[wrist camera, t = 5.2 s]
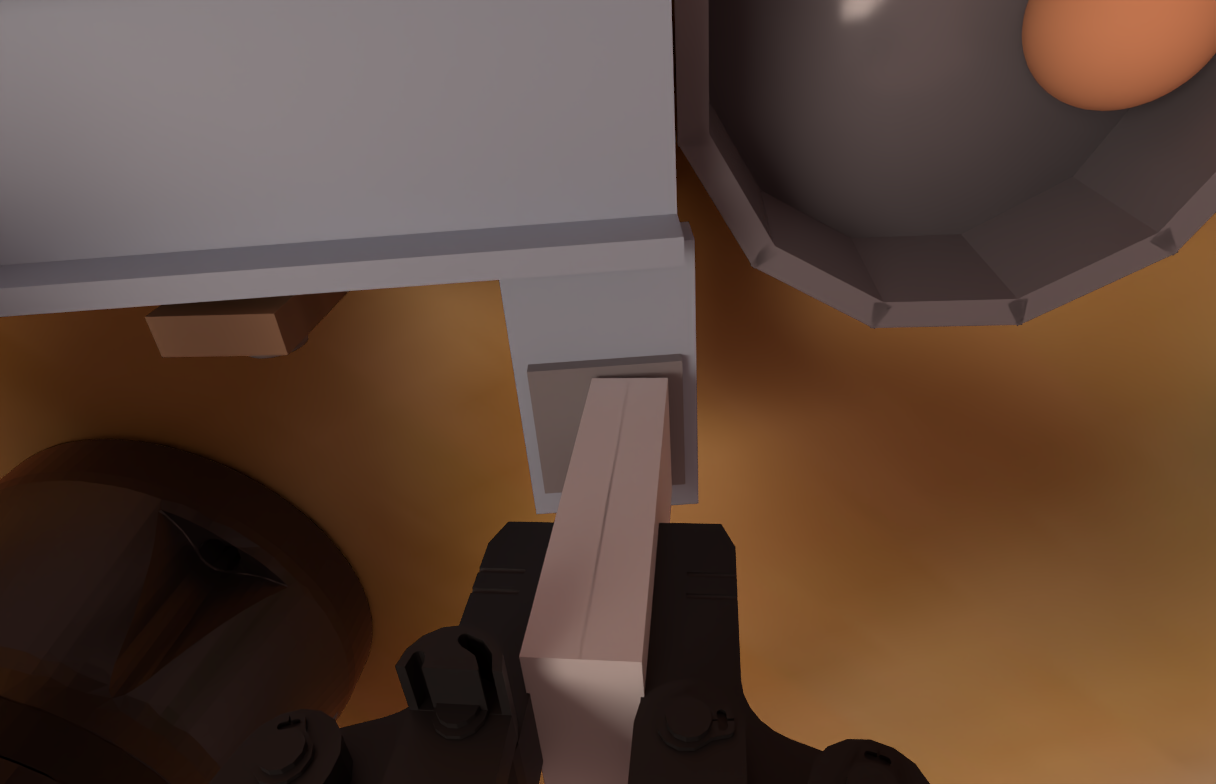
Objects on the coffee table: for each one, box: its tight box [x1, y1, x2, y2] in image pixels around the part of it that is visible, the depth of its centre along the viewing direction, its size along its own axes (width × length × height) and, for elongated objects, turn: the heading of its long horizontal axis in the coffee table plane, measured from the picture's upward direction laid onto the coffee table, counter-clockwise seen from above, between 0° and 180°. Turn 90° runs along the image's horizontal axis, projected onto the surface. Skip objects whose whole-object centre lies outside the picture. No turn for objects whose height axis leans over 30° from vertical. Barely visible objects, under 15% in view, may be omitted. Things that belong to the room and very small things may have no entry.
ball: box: [1022, 0, 1216, 111], centre depth 15 cm, size 4×4×4 cm
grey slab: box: [0, 0, 698, 514], centre depth 13 cm, size 16×12×3 cm
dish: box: [674, 0, 1216, 329], centre depth 15 cm, size 11×11×4 cm
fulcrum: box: [145, 291, 349, 358], centre depth 15 cm, size 16×9×9 cm, turn 94°
